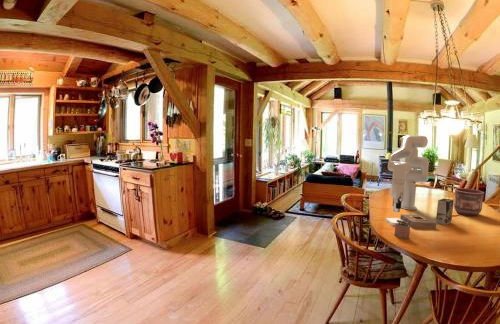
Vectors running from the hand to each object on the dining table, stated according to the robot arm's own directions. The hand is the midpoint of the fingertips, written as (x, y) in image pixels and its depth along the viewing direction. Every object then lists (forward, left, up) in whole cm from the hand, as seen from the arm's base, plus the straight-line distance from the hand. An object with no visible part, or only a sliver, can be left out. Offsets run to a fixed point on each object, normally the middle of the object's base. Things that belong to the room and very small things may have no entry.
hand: (396, 207), depth 185 cm
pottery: (-27, +65, -11) cm, 71 cm away
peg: (0, 0, -3) cm, 3 cm away
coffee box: (-4, +34, -11) cm, 36 cm away
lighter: (+24, -7, -11) cm, 28 cm away
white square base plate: (0, 0, -11) cm, 11 cm away
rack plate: (0, +14, -11) cm, 18 cm away
